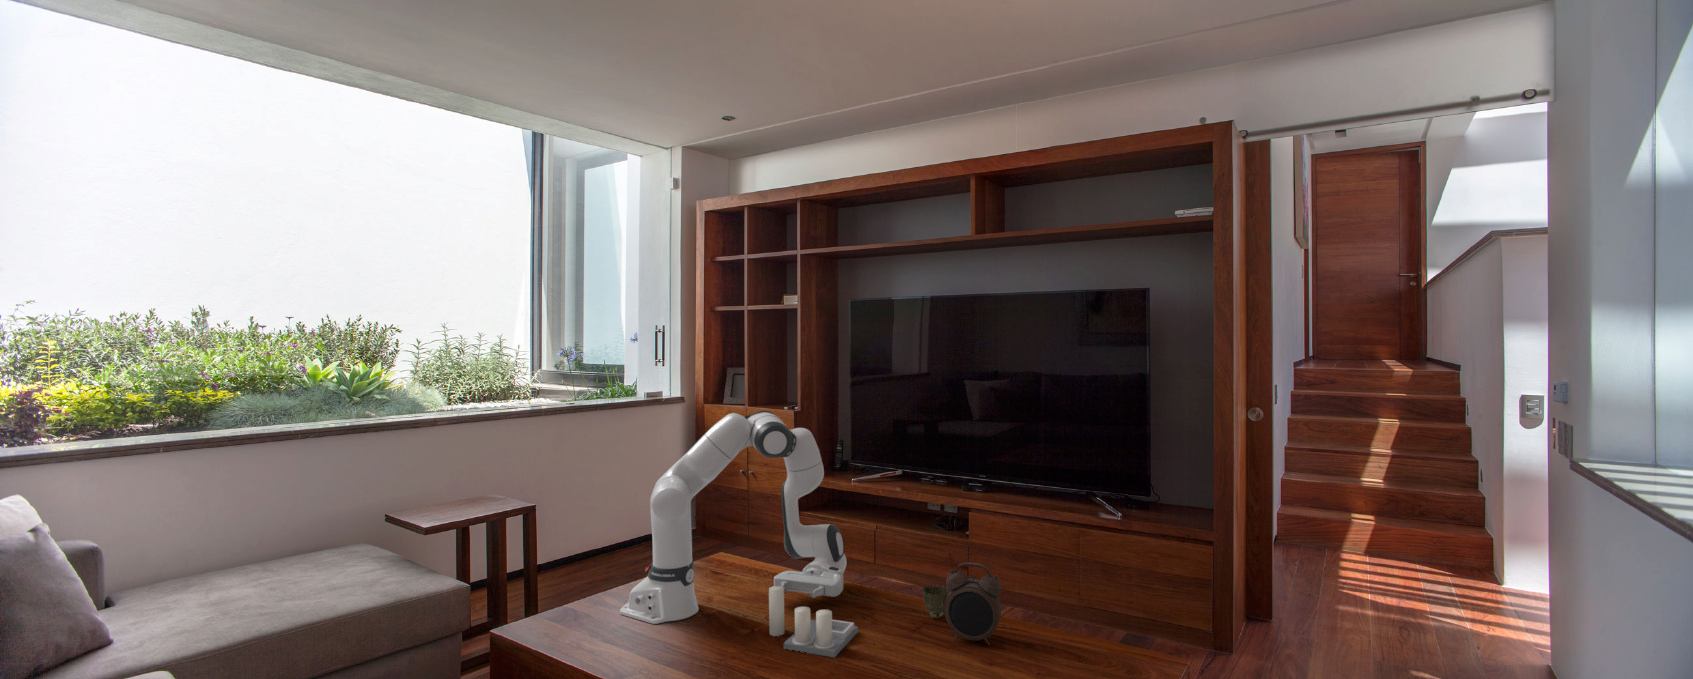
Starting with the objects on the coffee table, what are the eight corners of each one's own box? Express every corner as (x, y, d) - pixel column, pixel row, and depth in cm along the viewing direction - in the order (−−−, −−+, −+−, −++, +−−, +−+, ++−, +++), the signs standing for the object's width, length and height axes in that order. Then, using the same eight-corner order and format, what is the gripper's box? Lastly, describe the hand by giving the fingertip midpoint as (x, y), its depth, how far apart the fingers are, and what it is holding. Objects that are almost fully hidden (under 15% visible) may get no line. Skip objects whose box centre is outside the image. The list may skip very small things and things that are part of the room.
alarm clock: (942, 643, 186) (941, 565, 186) (948, 632, 193) (947, 557, 193) (1000, 650, 182) (999, 571, 181) (1003, 639, 188) (1002, 562, 188)
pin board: (783, 649, 184) (783, 611, 184) (810, 625, 199) (809, 590, 199) (834, 657, 179) (833, 619, 179) (857, 632, 194) (857, 596, 194)
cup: (948, 623, 199) (948, 594, 199) (921, 621, 200) (921, 592, 200) (950, 612, 206) (949, 584, 206) (924, 611, 208) (923, 583, 208)
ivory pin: (766, 635, 193) (766, 590, 193) (773, 629, 197) (773, 585, 196) (780, 637, 191) (779, 592, 191) (787, 631, 195) (786, 587, 195)
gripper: (785, 563, 222) (763, 577, 209) (847, 570, 214) (829, 585, 201) (785, 583, 222) (764, 599, 209) (847, 591, 214) (829, 608, 201)
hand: (796, 592), depth 205 cm, fingers open, 8 cm apart
